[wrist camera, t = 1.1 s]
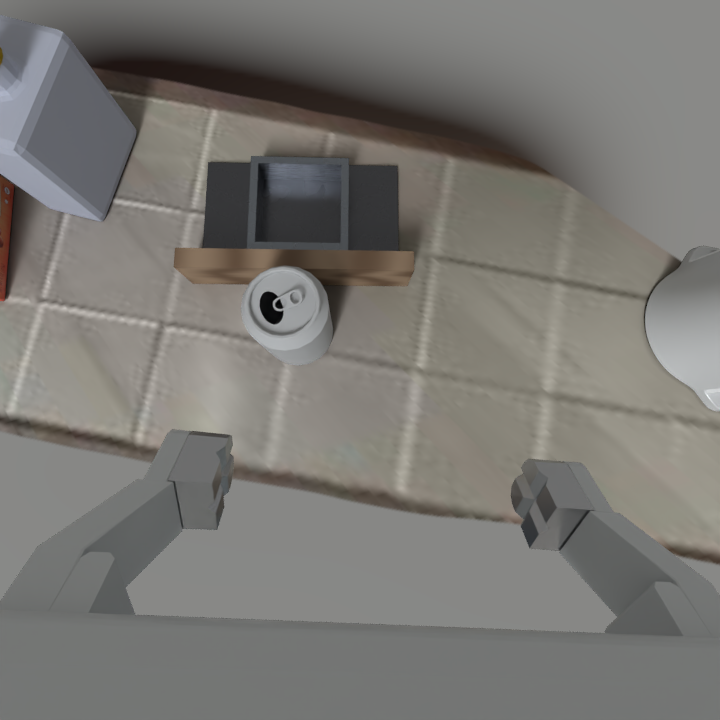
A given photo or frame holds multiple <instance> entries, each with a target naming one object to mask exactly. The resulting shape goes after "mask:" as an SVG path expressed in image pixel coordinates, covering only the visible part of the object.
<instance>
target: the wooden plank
mask: <svg viewBox="0 0 720 720" xmlns="http://www.w3.org/2000/svg"><path fill="white" fill-rule="evenodd" d="M279 266H293V267H299V268H301V269H303V270H305V271H308V272H310V273H311V274H312V275H313V276H314V277H316V278H317V279H318V280H319V281H320V282H321V284H322V285H348V286H407V285H408V283H409V281H410V278H411V276H412V274H413V272H414V251H363V250H292V249H222V248H175V257H174V268H176V269H177V270H178V271H179V272H180V273H181V274H183V275H184V276H185V277H186V278H187V279H188V280H189V281H191V282H192V283H193V284H249V283H250V282H251V281H252V280H253V279H254V278H255V277H257V276H258V275H259V274H260V273H262V272H264V271H266V270H268V269H270V268H273V267H279Z"/></svg>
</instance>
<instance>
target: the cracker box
mask: <svg viewBox="0 0 720 720" xmlns="http://www.w3.org/2000/svg"><path fill="white" fill-rule="evenodd" d="M13 195H14V185H13V184H11V183H10V182H9V181H7V180H6V179H4V178H3V177H2V176H0V301H5V291H6V278H7V266H8V254H9V242H10V230H11V219H12V207H13Z"/></svg>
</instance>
